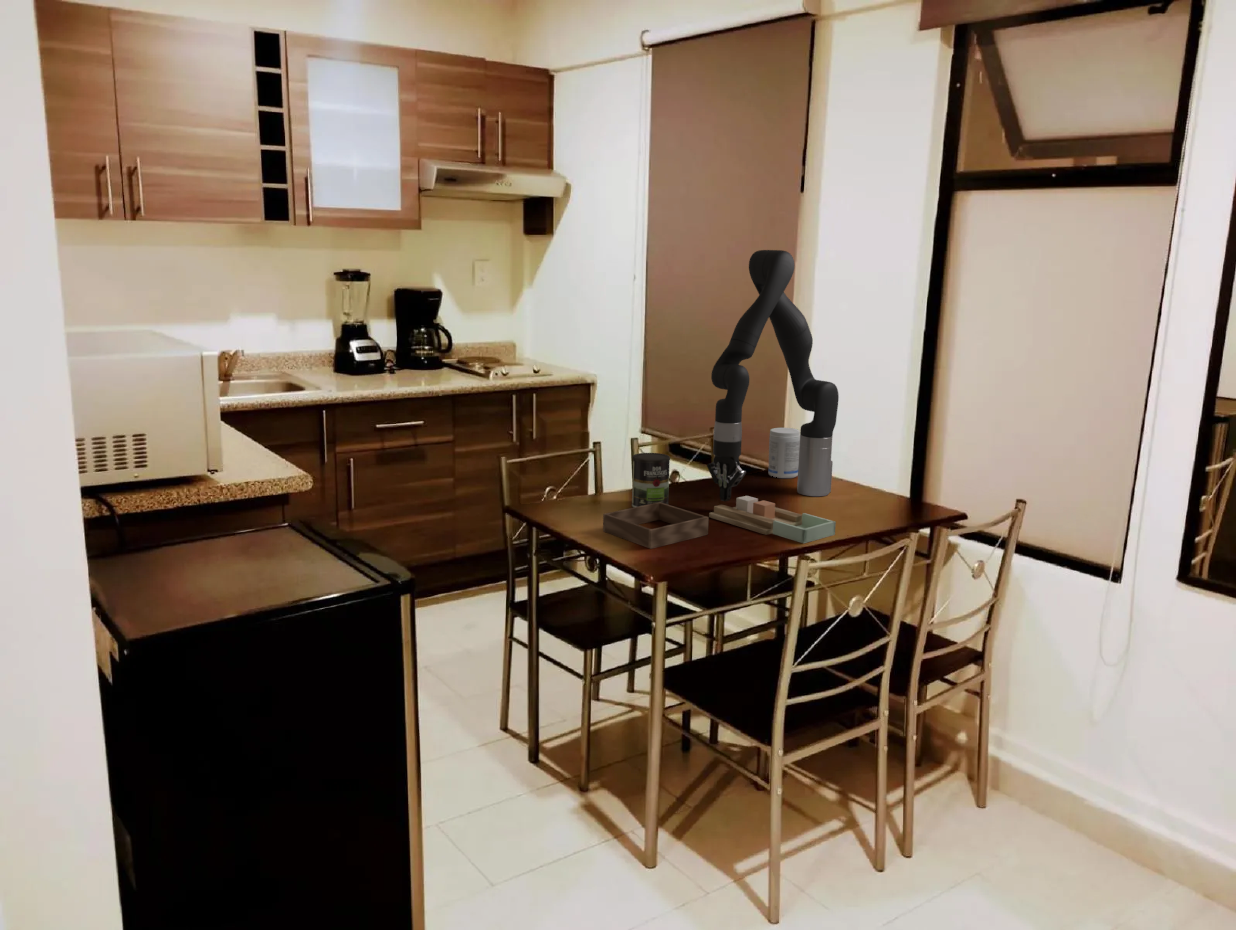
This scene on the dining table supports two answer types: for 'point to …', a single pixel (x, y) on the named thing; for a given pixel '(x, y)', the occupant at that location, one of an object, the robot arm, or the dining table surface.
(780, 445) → the supplement tub
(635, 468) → the coffee can
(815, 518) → the tray
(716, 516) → the slot board
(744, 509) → the light grey cube
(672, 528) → the brown shallow square box
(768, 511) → the orange cube
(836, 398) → the robot arm
